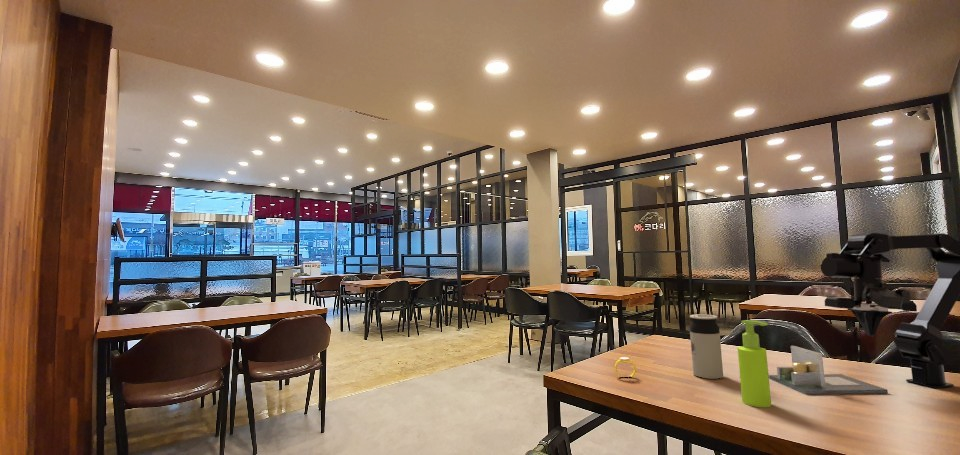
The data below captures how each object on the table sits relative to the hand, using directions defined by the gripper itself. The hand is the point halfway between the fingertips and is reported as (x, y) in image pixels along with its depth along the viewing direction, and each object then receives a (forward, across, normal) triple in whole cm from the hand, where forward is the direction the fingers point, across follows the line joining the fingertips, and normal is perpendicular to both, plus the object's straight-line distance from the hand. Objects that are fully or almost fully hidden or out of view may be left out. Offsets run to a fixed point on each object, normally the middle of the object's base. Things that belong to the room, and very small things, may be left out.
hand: (870, 335), depth 108 cm
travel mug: (+16, -39, +7) cm, 43 cm away
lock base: (+14, -12, -1) cm, 19 cm away
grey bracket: (+13, -19, -2) cm, 23 cm away
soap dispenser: (+16, -36, -16) cm, 43 cm away
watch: (+18, -63, +4) cm, 66 cm away
